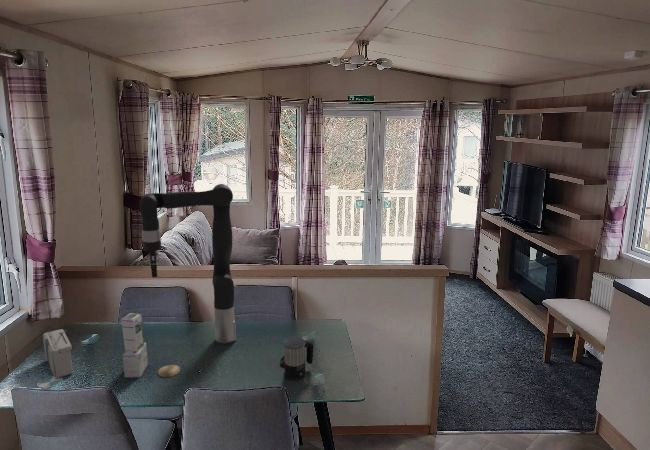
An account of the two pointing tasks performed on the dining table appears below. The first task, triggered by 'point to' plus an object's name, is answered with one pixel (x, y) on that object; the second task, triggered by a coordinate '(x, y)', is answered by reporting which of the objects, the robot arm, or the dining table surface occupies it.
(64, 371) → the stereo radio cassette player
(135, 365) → the light bulb box
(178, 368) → the cork coaster
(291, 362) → the milk frother
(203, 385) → the dining table surface
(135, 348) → the syrup box
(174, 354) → the dining table surface
